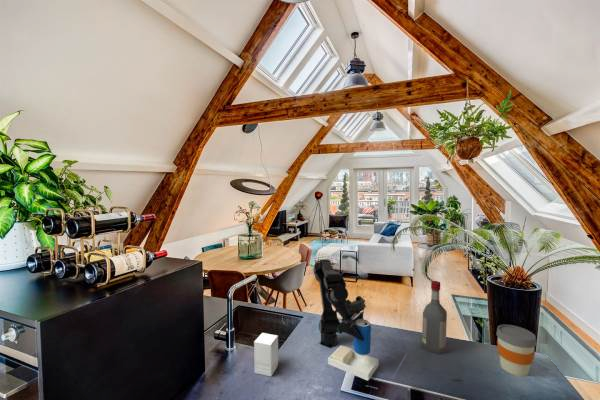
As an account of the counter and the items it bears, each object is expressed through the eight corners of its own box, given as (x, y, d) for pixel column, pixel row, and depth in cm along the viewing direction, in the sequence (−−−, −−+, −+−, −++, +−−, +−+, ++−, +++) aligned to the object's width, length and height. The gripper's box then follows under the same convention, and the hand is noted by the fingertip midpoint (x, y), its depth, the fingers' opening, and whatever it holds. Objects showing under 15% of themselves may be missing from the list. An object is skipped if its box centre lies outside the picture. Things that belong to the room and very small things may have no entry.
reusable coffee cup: (541, 382, 105) (543, 343, 104) (501, 375, 109) (503, 337, 108) (526, 362, 117) (528, 327, 116) (490, 356, 121) (492, 322, 120)
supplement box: (278, 365, 114) (278, 335, 114) (271, 377, 107) (271, 345, 107) (262, 361, 117) (262, 332, 116) (253, 373, 110) (253, 341, 109)
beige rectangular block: (332, 363, 115) (332, 354, 115) (341, 353, 122) (341, 345, 122) (343, 367, 112) (343, 359, 112) (352, 357, 119) (352, 349, 119)
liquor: (446, 345, 129) (448, 281, 127) (444, 356, 121) (446, 287, 119) (424, 339, 134) (426, 277, 132) (421, 349, 126) (422, 283, 124)
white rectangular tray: (328, 365, 115) (328, 357, 115) (340, 352, 124) (340, 345, 124) (368, 382, 105) (368, 374, 105) (378, 366, 114) (378, 359, 114)
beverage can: (370, 357, 109) (371, 327, 108) (353, 355, 110) (354, 325, 109) (369, 348, 115) (370, 319, 115) (353, 346, 116) (354, 318, 116)
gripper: (345, 300, 105) (374, 337, 100) (360, 284, 121) (385, 315, 117) (325, 316, 109) (352, 352, 105) (342, 299, 126) (366, 329, 121)
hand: (365, 336), depth 112 cm, fingers closed on beverage can, 6 cm apart
